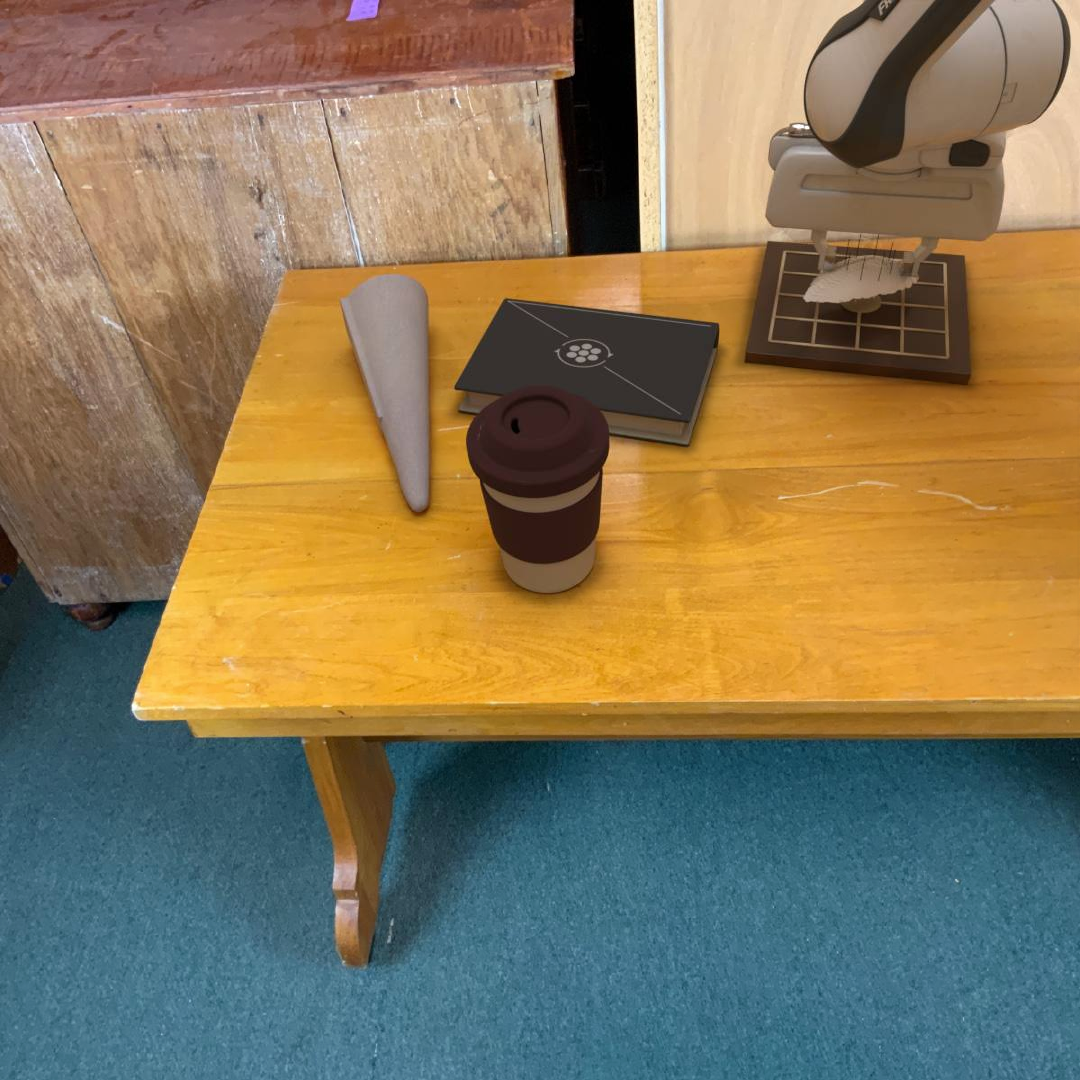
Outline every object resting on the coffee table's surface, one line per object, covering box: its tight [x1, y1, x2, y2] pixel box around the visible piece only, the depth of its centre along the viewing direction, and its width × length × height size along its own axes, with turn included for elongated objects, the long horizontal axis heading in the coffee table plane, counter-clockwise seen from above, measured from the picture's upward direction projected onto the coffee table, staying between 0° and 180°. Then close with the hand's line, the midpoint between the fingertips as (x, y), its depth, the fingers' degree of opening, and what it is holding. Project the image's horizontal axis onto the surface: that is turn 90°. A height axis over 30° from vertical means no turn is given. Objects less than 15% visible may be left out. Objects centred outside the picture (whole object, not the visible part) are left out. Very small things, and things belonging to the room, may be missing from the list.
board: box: [744, 240, 972, 386], centre depth 95 cm, size 20×20×1 cm
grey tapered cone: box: [339, 273, 431, 513], centre depth 87 cm, size 8×9×26 cm
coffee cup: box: [465, 385, 610, 594], centre depth 70 cm, size 10×10×15 cm
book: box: [454, 297, 720, 447], centre depth 90 cm, size 22×15×3 cm
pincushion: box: [803, 233, 919, 303], centre depth 91 cm, size 12×6×6 cm, turn 105°
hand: (866, 270), depth 92 cm, fingers closed on pincushion, 6 cm apart
